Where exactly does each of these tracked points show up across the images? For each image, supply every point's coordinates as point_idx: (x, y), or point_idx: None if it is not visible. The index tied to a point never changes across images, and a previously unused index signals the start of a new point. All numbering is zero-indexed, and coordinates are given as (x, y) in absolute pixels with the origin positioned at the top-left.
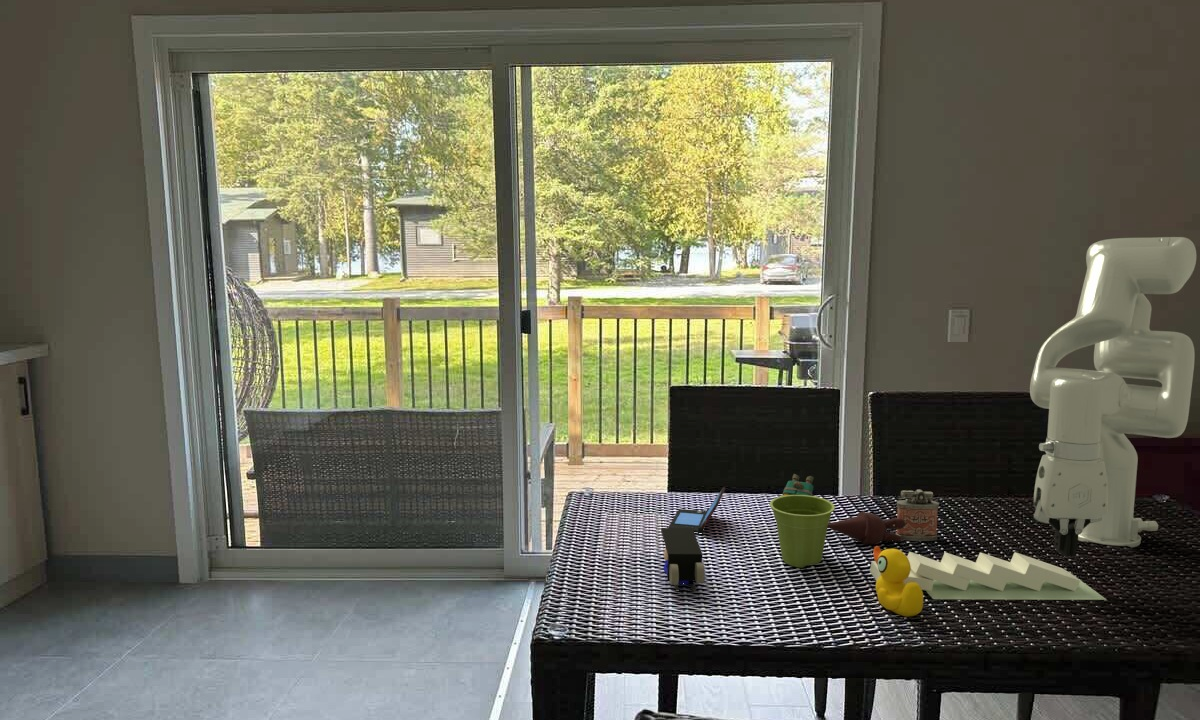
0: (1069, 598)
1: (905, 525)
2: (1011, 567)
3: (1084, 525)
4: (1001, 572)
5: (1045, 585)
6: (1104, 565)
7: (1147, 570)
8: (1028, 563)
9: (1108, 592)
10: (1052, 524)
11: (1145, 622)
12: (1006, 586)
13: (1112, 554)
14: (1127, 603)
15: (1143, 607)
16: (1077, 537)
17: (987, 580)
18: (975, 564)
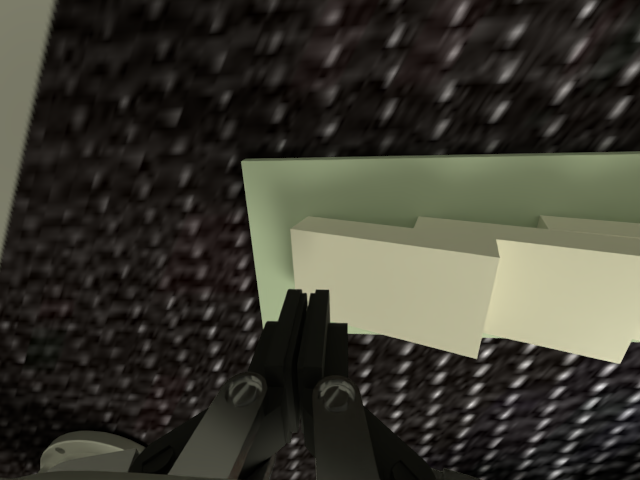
0: (353, 165)
1: None
2: (528, 277)
3: (188, 432)
4: (596, 242)
5: None
6: (156, 368)
7: (71, 343)
8: (498, 263)
9: (206, 234)
10: (413, 454)
11: (181, 24)
12: None
13: (120, 411)
14: (183, 166)
15: (148, 140)
16: (253, 365)
17: (628, 228)
18: None
